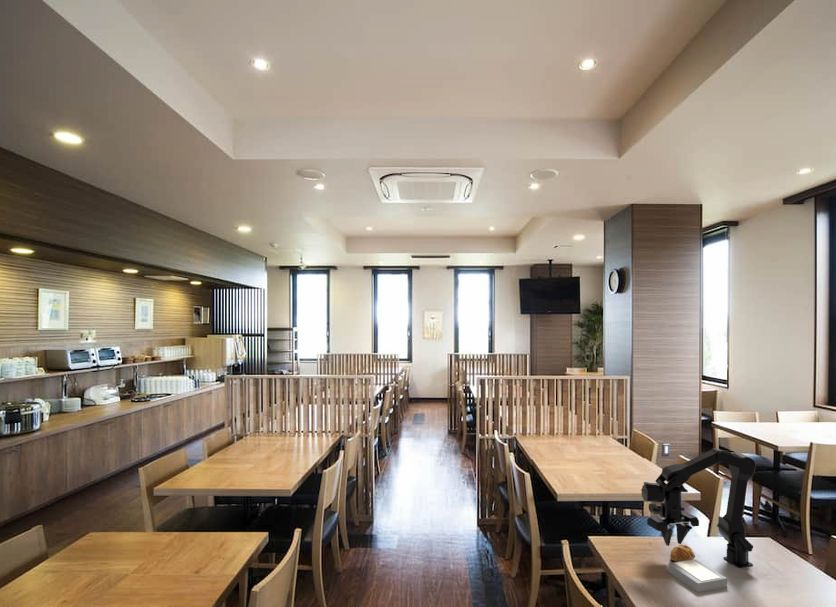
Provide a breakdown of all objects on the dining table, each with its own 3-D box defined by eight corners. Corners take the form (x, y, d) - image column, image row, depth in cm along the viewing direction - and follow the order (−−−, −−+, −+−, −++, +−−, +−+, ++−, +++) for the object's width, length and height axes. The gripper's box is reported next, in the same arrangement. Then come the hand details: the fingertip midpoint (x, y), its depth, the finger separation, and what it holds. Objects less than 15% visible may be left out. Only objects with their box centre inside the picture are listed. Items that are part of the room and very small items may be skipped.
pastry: (684, 567, 157) (684, 557, 157) (664, 558, 163) (665, 548, 163) (696, 559, 163) (696, 548, 163) (677, 550, 168) (677, 540, 168)
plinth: (696, 567, 158) (695, 558, 158) (727, 587, 146) (726, 577, 146) (668, 572, 155) (668, 562, 155) (698, 592, 143) (697, 582, 143)
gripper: (675, 491, 175) (676, 531, 174) (636, 496, 170) (636, 537, 170) (699, 503, 164) (700, 545, 163) (658, 508, 159) (659, 552, 159)
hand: (673, 544), depth 164 cm, fingers open, 5 cm apart
